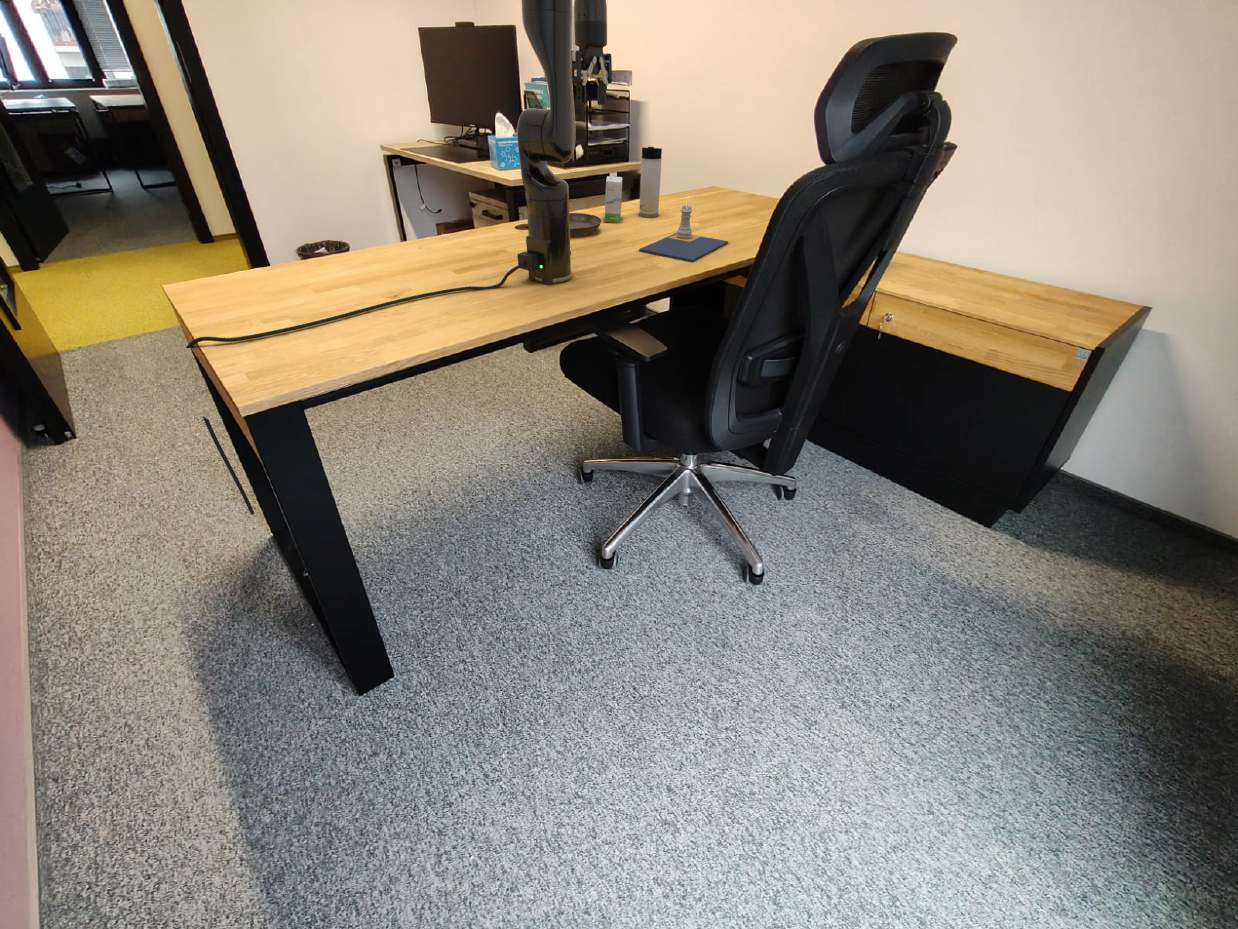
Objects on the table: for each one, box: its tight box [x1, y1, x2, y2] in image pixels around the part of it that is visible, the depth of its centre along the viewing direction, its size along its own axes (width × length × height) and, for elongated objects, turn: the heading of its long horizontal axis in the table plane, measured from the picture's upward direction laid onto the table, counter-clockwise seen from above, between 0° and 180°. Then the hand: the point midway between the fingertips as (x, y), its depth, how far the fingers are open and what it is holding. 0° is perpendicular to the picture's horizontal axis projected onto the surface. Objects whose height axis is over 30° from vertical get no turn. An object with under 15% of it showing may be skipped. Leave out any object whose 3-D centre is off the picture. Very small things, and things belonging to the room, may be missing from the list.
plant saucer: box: [569, 212, 603, 237], centre depth 164 cm, size 18×18×3 cm
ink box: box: [604, 175, 623, 224], centre depth 174 cm, size 9×5×12 cm, turn 179°
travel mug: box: [638, 146, 663, 218], centre depth 177 cm, size 6×7×20 cm
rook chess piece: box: [676, 205, 693, 239], centre depth 157 cm, size 4×4×8 cm
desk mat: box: [638, 232, 729, 263], centre depth 153 cm, size 22×16×1 cm
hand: (592, 104), depth 136 cm, fingers open, 8 cm apart
